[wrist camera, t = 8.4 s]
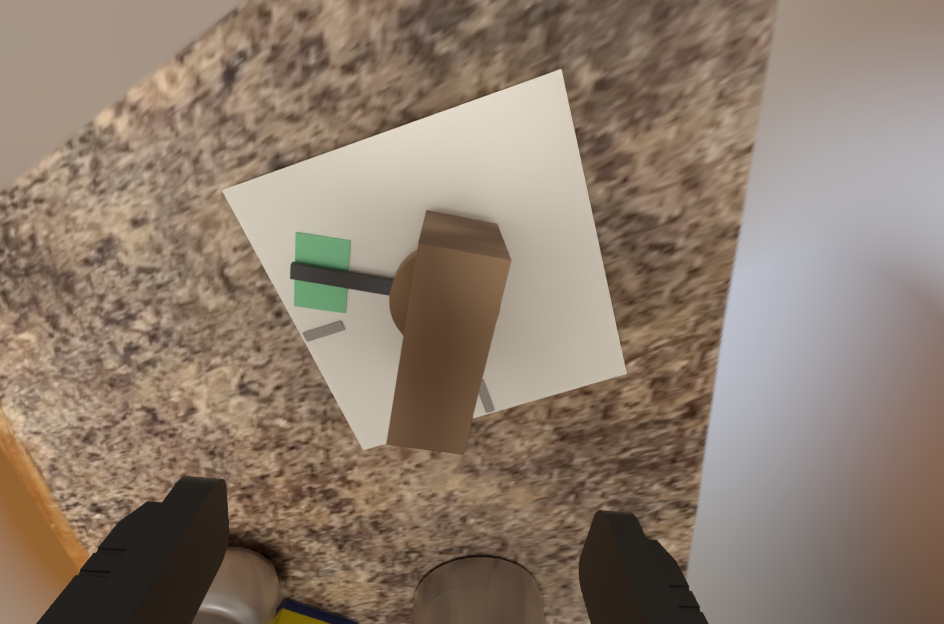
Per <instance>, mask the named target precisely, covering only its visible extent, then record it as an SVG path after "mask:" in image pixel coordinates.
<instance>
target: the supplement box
mask: <svg viewBox="0 0 944 624" xmlns="http://www.w3.org/2000/svg"><path fill="white" fill-rule="evenodd" d="M271 624H358V622H357V621H356V620H353V619H349V618H346V617H343V616H339V615H336V614H333V613H330V612H328V611H324V610H321V609H318V608H315V607H312V606H309V605H306V604H303V603H300V602H296V601H292V600H289V599H284V601H283V602H282V603H281V605H280V606H279V608H278V609H277V611H276V614H275V617H274V619H273V621H272V623H271Z"/></svg>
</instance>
